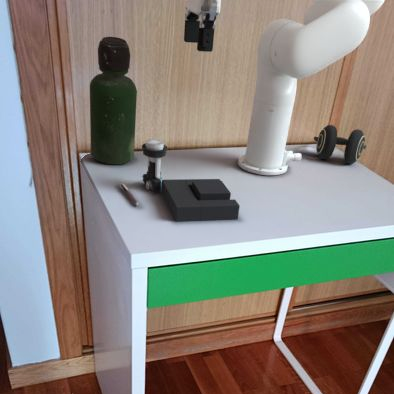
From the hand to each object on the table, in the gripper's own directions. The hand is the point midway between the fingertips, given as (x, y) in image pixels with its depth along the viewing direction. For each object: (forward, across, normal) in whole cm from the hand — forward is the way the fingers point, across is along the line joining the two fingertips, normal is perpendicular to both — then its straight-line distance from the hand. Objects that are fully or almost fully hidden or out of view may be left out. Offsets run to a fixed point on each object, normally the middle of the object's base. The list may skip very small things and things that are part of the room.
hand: (197, 46), depth 105 cm
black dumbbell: (+21, 0, -41) cm, 46 cm away
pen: (+26, -15, +17) cm, 35 cm away
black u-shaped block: (+26, -21, +4) cm, 33 cm away
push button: (+26, -10, +12) cm, 30 cm away
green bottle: (+26, +8, +17) cm, 32 cm away
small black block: (+26, -21, +1) cm, 33 cm away
